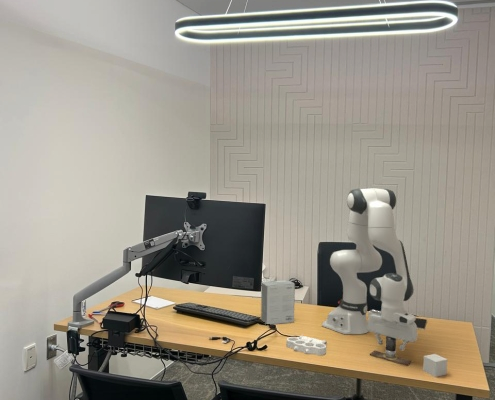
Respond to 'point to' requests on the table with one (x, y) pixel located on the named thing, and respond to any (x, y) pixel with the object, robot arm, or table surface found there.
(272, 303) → the hard drive box
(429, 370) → the white cube
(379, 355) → the strip
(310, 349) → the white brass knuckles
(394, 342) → the bottle with black cap
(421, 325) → the smartphone
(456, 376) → the table surface
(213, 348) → the table surface
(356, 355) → the table surface
